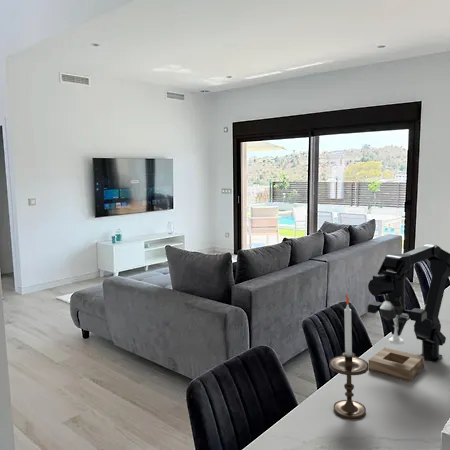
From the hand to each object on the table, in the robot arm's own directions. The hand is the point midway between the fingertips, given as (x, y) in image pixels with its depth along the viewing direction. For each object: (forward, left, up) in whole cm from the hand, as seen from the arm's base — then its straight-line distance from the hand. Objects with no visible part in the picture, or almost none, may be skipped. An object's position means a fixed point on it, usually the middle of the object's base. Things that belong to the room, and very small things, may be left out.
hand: (396, 334), depth 148 cm
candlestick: (+35, 0, -13) cm, 37 cm away
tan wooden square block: (0, 0, -12) cm, 12 cm away
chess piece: (0, 0, -3) cm, 3 cm away
